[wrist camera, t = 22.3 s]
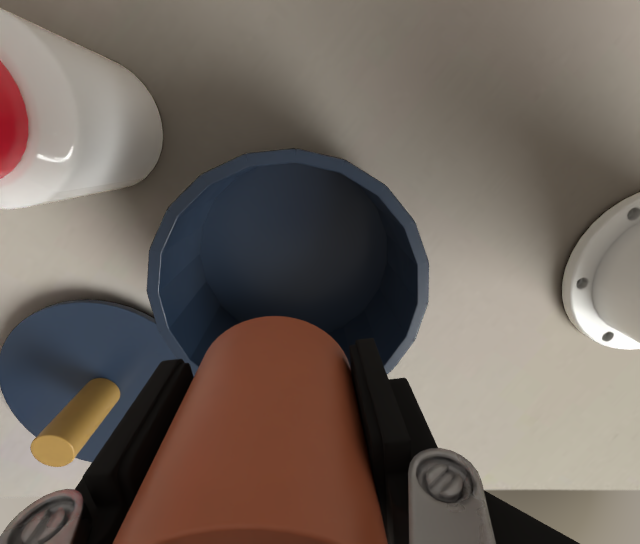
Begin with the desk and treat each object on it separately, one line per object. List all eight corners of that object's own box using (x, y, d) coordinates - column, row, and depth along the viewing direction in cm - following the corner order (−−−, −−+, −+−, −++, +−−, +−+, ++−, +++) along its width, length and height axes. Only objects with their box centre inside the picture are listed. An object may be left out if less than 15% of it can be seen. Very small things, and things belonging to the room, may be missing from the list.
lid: (182, 285, 25) (140, 331, 19) (223, 444, 30) (200, 522, 24) (-25, 307, 25) (-138, 360, 18) (51, 463, 30) (-17, 546, 24)
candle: (346, 306, 10) (400, 507, 4) (356, 433, 12) (404, 699, 6) (183, 324, 10) (26, 549, 4) (216, 448, 12) (132, 731, 6)
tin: (390, 139, 22) (430, 133, 15) (395, 331, 27) (427, 396, 20) (172, 162, 22) (109, 167, 15) (216, 350, 27) (184, 422, 20)
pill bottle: (94, 22, 19) (-151, -127, 9) (189, 140, 22) (80, 130, 11) (6, 110, 21) (-299, 68, 10) (104, 212, 23) (-64, 263, 13)
